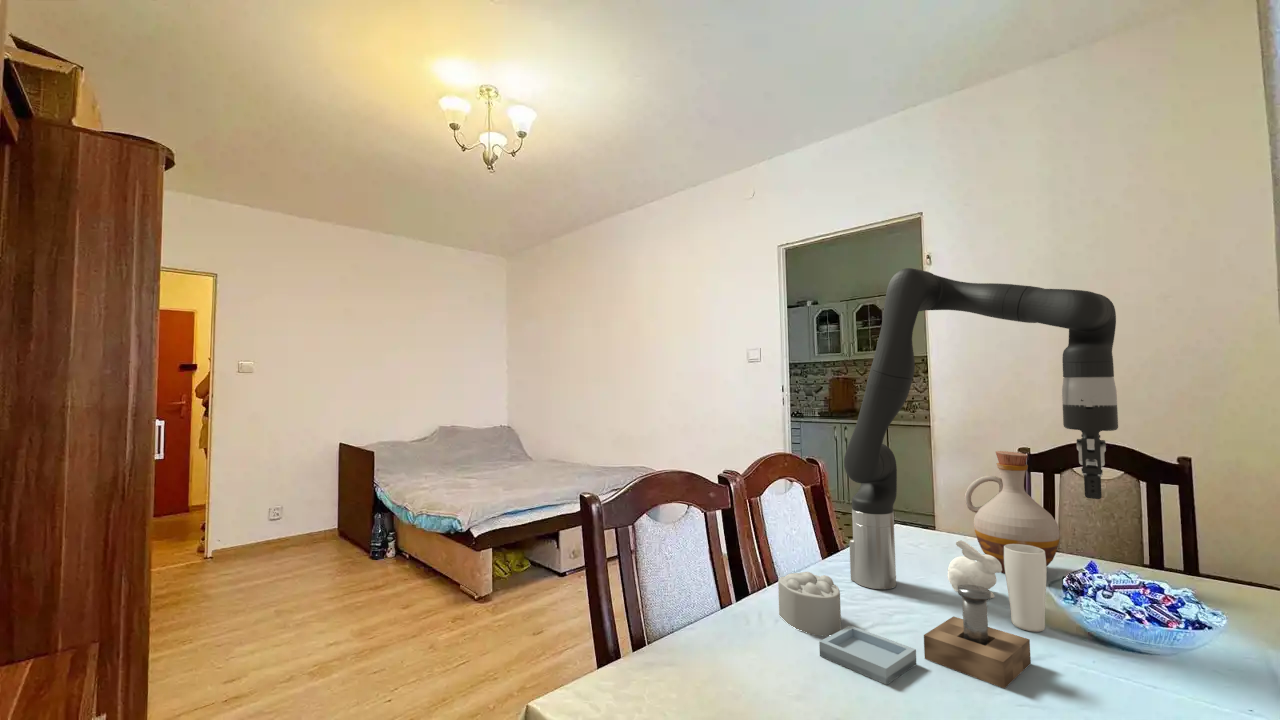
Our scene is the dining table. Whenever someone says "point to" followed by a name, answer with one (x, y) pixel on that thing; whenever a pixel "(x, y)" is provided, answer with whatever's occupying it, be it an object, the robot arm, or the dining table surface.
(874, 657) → the tray
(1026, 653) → the socket block
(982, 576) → the rabbit
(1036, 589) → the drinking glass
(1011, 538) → the jug
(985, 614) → the pin
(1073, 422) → the robot arm
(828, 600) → the lumpy-topped squat cylinder
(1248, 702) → the dining table surface
